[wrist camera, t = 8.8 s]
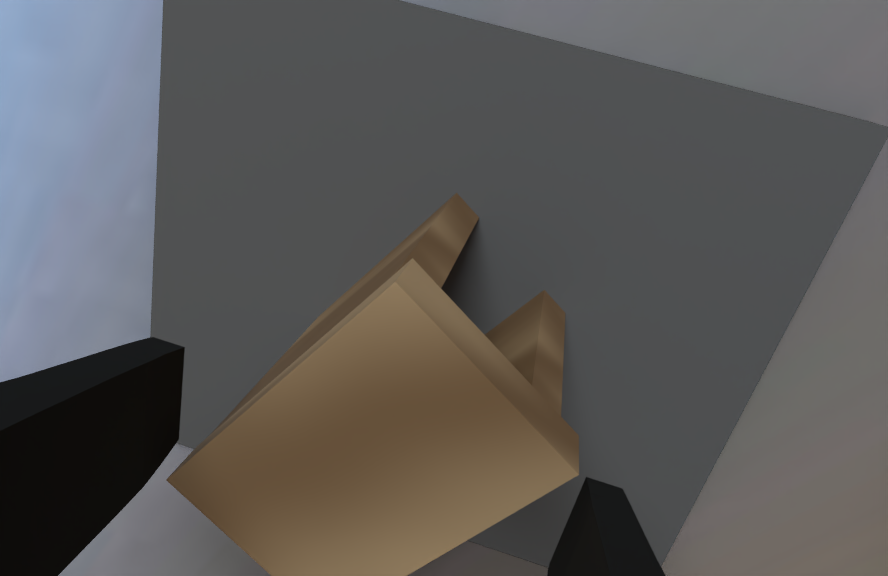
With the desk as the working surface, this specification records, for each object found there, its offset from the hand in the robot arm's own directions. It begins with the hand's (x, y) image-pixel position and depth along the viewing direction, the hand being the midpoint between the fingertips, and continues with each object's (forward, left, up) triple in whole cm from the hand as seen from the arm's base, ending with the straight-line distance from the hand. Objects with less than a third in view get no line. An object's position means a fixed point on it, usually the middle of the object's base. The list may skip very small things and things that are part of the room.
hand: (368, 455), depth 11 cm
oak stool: (0, 0, -6) cm, 6 cm away
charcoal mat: (0, 0, -7) cm, 7 cm away
